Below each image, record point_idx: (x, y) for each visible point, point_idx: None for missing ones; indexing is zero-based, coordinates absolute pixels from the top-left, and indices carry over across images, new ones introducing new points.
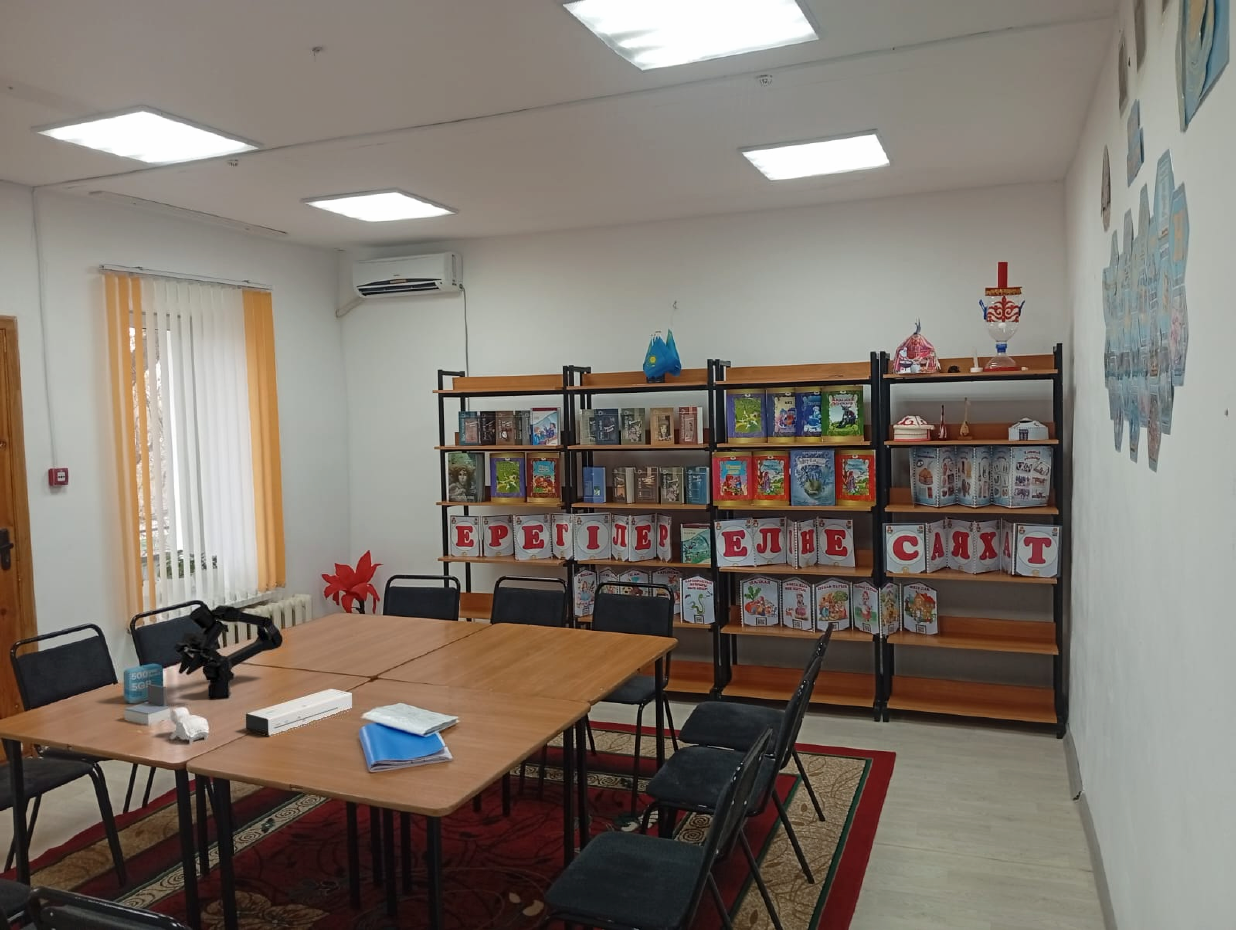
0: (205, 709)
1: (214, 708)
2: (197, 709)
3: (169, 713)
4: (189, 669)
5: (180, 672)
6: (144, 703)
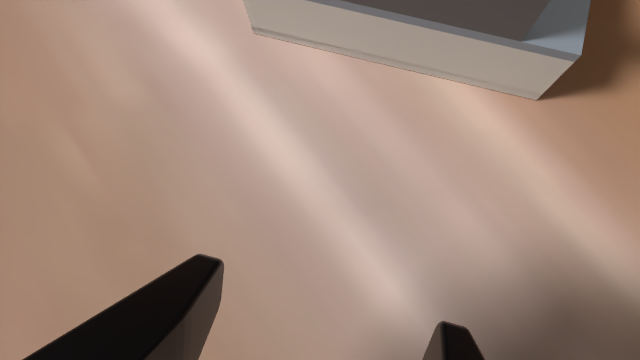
0: None
1: None
2: None
3: (248, 6)
4: (119, 304)
5: (430, 349)
6: (563, 17)
